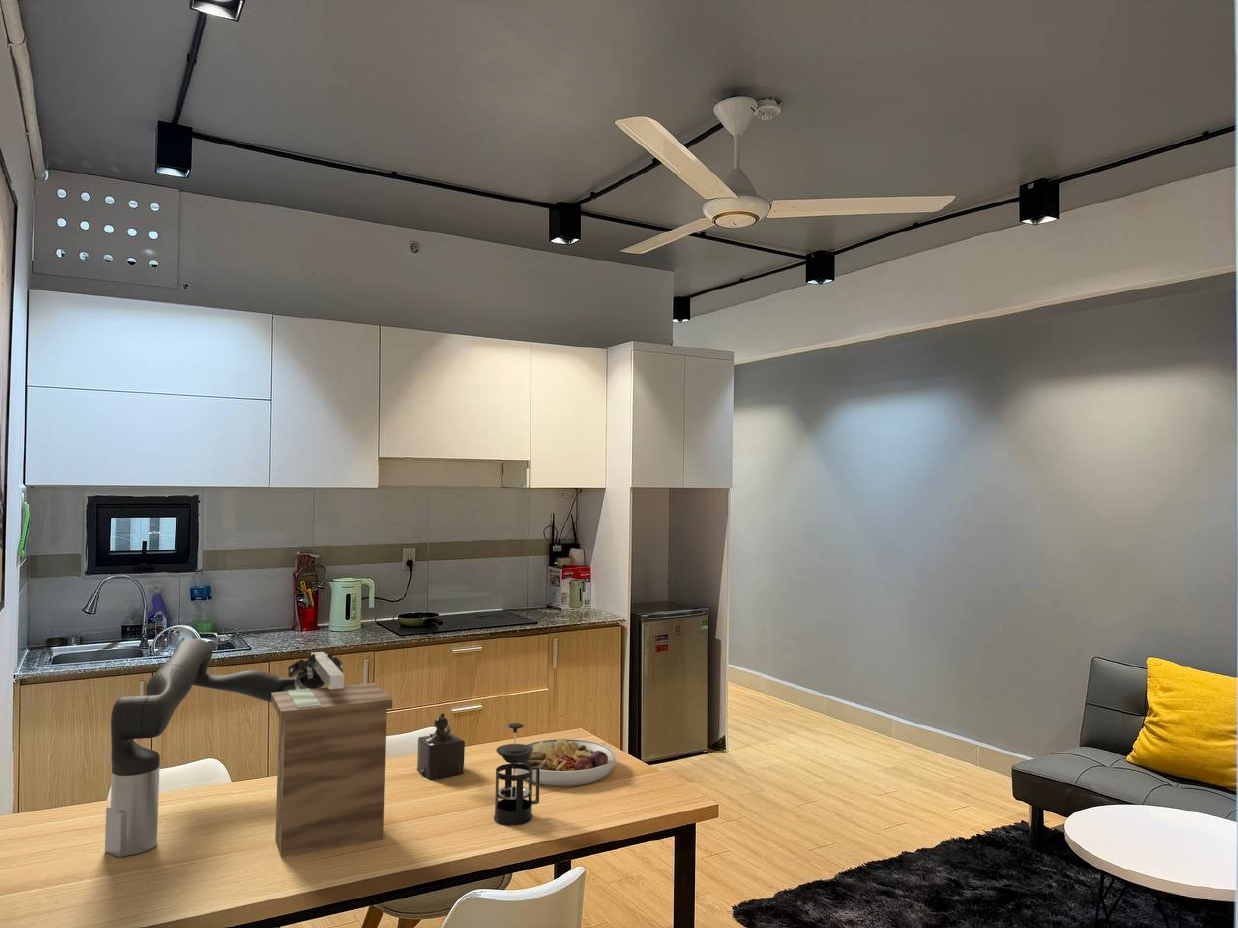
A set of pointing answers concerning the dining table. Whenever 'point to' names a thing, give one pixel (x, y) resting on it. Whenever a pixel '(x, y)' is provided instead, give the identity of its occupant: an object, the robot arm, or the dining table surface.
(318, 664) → the white rectangular bar
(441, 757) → the manual coffee grinder
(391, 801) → the dining table surface
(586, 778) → the bowl
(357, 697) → the upright wood-grain block
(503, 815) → the french press
